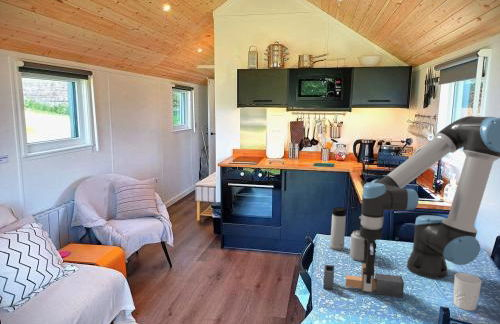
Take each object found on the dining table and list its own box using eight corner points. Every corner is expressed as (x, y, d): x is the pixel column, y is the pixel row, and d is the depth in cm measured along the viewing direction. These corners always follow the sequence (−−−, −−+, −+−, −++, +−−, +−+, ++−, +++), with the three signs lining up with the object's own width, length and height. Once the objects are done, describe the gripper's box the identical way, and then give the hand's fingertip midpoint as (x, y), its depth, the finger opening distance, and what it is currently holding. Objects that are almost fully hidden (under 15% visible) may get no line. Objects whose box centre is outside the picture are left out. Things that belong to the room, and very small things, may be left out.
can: (369, 257, 161) (370, 231, 159) (364, 263, 155) (366, 236, 153) (352, 253, 165) (354, 228, 163) (347, 259, 159) (349, 233, 157)
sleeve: (400, 291, 132) (401, 276, 131) (402, 298, 127) (404, 282, 126) (374, 287, 134) (375, 273, 133) (375, 294, 129) (377, 279, 128)
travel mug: (344, 251, 167) (347, 210, 164) (330, 250, 168) (332, 209, 165) (344, 246, 173) (346, 206, 170) (330, 245, 174) (332, 205, 171)
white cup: (478, 314, 118) (481, 286, 116) (450, 307, 122) (453, 279, 120) (478, 303, 124) (481, 276, 123) (452, 297, 128) (455, 270, 127)
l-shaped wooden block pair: (396, 290, 131) (398, 267, 130) (398, 295, 127) (401, 272, 126) (345, 284, 135) (346, 261, 134) (345, 289, 131) (347, 266, 130)
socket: (333, 282, 137) (334, 265, 136) (333, 289, 132) (334, 272, 130) (323, 281, 138) (324, 264, 137) (323, 288, 132) (324, 271, 131)
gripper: (358, 218, 137) (354, 275, 141) (362, 233, 121) (357, 297, 124) (379, 219, 136) (374, 277, 139) (385, 235, 119) (380, 300, 123)
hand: (366, 287), depth 132 cm, fingers open, 4 cm apart
